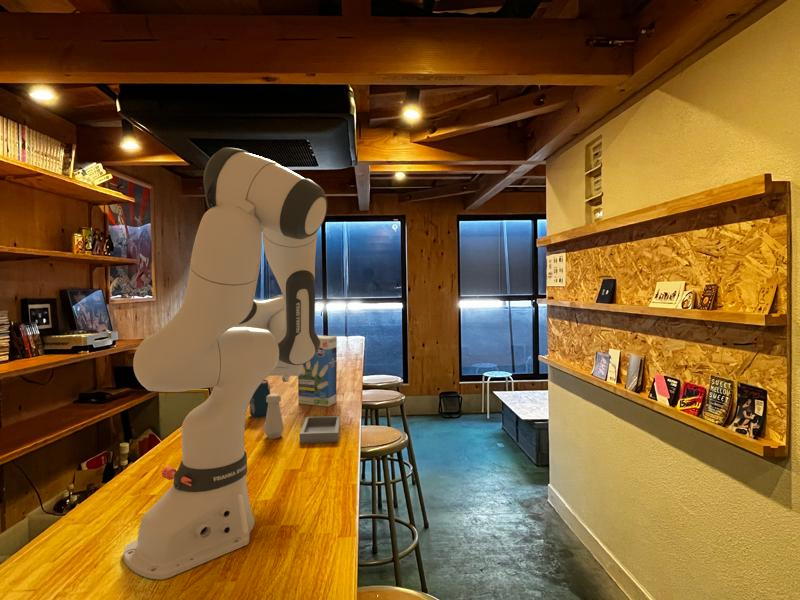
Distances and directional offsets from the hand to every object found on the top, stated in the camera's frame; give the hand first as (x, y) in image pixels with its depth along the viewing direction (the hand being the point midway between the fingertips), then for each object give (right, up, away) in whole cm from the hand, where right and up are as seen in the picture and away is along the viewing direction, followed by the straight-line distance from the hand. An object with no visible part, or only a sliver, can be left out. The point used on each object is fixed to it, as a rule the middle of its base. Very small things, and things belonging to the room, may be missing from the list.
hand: (269, 379), depth 126 cm
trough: (+11, -20, +17) cm, 28 cm away
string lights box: (+4, -18, +51) cm, 54 cm away
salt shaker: (-2, -20, +14) cm, 25 cm away
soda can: (-13, -19, +35) cm, 42 cm away
